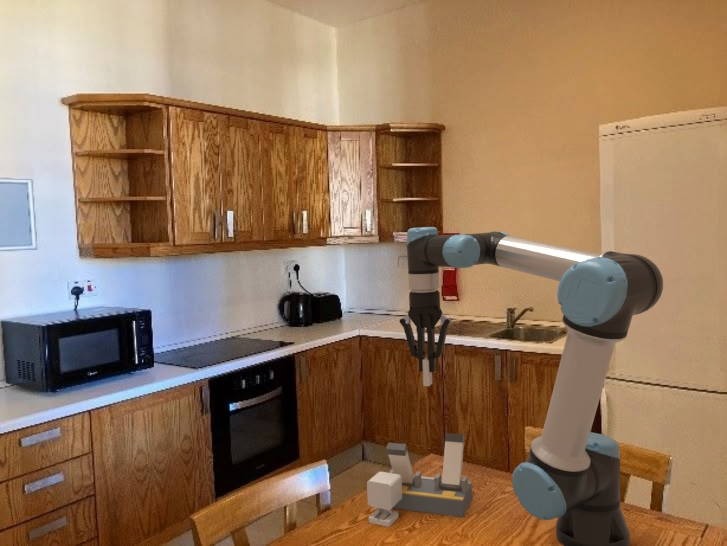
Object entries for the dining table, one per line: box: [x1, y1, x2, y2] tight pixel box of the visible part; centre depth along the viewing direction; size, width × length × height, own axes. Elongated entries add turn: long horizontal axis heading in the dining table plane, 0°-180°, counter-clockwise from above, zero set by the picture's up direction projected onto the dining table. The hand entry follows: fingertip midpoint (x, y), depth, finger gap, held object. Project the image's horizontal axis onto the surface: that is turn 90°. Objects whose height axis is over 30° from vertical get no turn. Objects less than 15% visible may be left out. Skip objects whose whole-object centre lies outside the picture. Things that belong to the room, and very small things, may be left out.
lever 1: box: [385, 442, 414, 485], centre depth 157 cm, size 5×2×13 cm, turn 69°
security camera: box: [366, 471, 402, 528], centre depth 150 cm, size 6×7×10 cm
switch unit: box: [388, 468, 473, 518], centre depth 158 cm, size 20×11×7 cm, turn 69°
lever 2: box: [440, 432, 466, 490], centre depth 158 cm, size 5×2×13 cm, turn 69°
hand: (427, 384), depth 155 cm, fingers closed
